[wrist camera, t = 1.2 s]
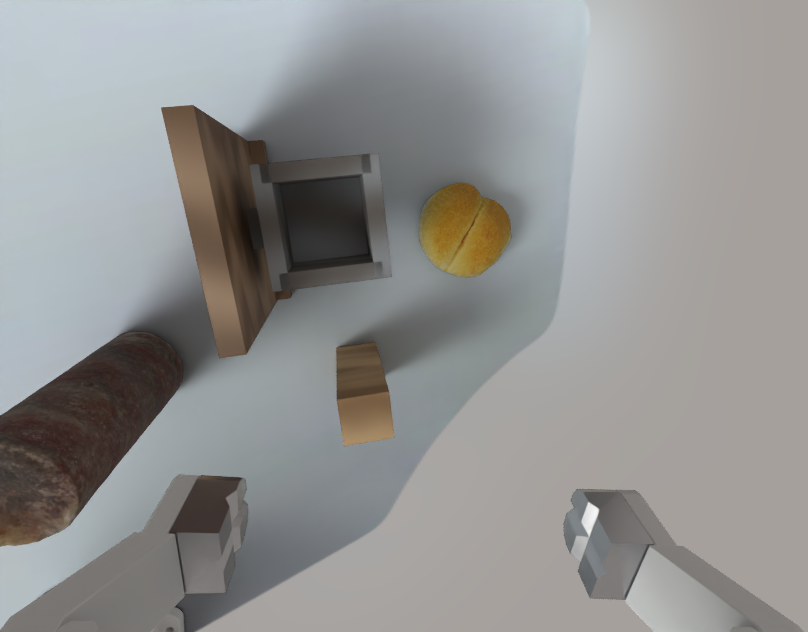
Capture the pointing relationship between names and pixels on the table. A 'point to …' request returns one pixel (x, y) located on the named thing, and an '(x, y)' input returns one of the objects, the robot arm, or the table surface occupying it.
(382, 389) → the wooden block
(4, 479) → the brown rough cylinder
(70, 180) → the table surface
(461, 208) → the bread roll
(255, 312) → the bracket
